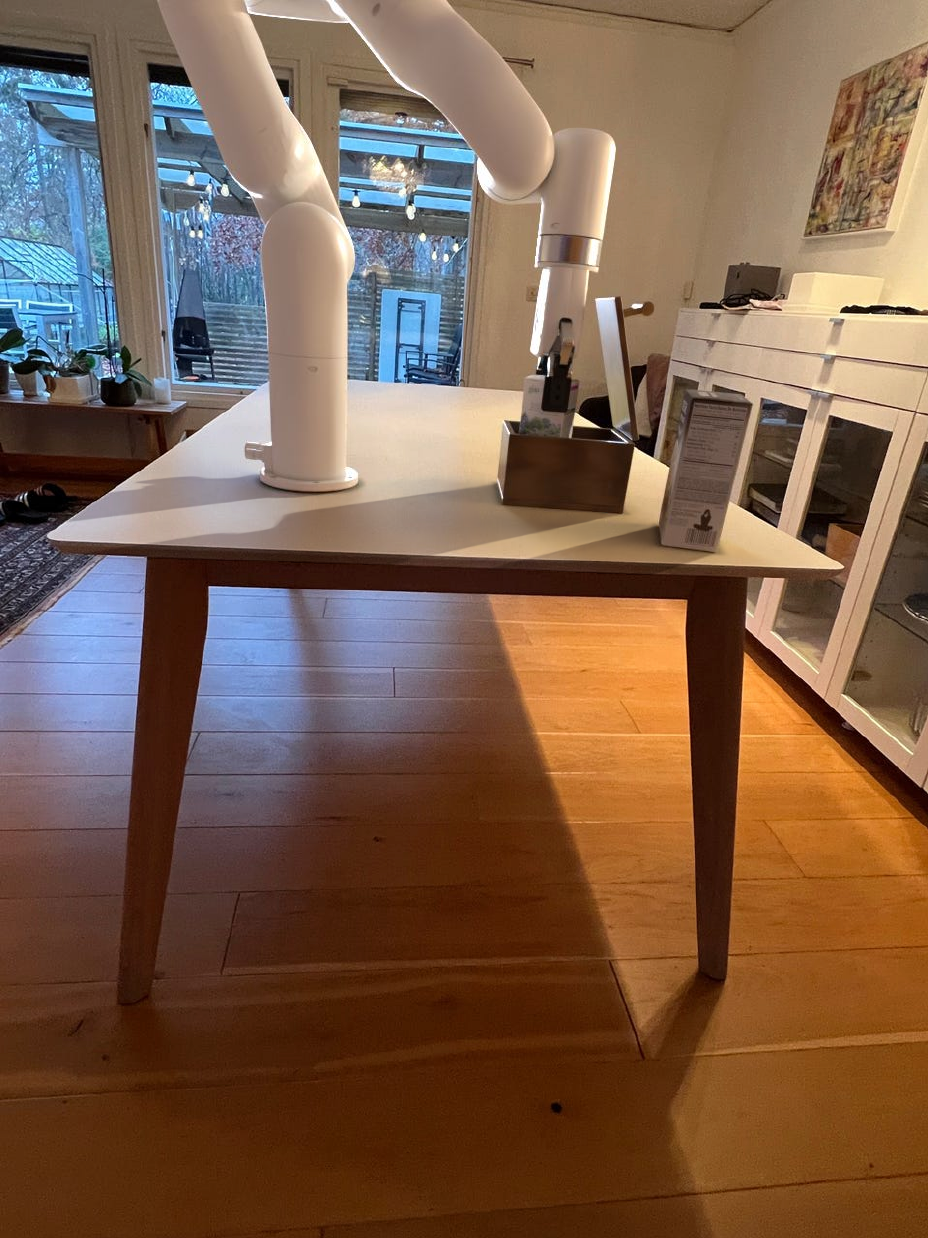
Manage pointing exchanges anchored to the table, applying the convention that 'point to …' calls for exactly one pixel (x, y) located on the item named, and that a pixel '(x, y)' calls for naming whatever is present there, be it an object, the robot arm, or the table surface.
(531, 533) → the table surface
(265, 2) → the robot arm
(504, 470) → the brown wooden box
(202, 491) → the table surface
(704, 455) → the coffee box
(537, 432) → the syrup box
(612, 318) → the lid
